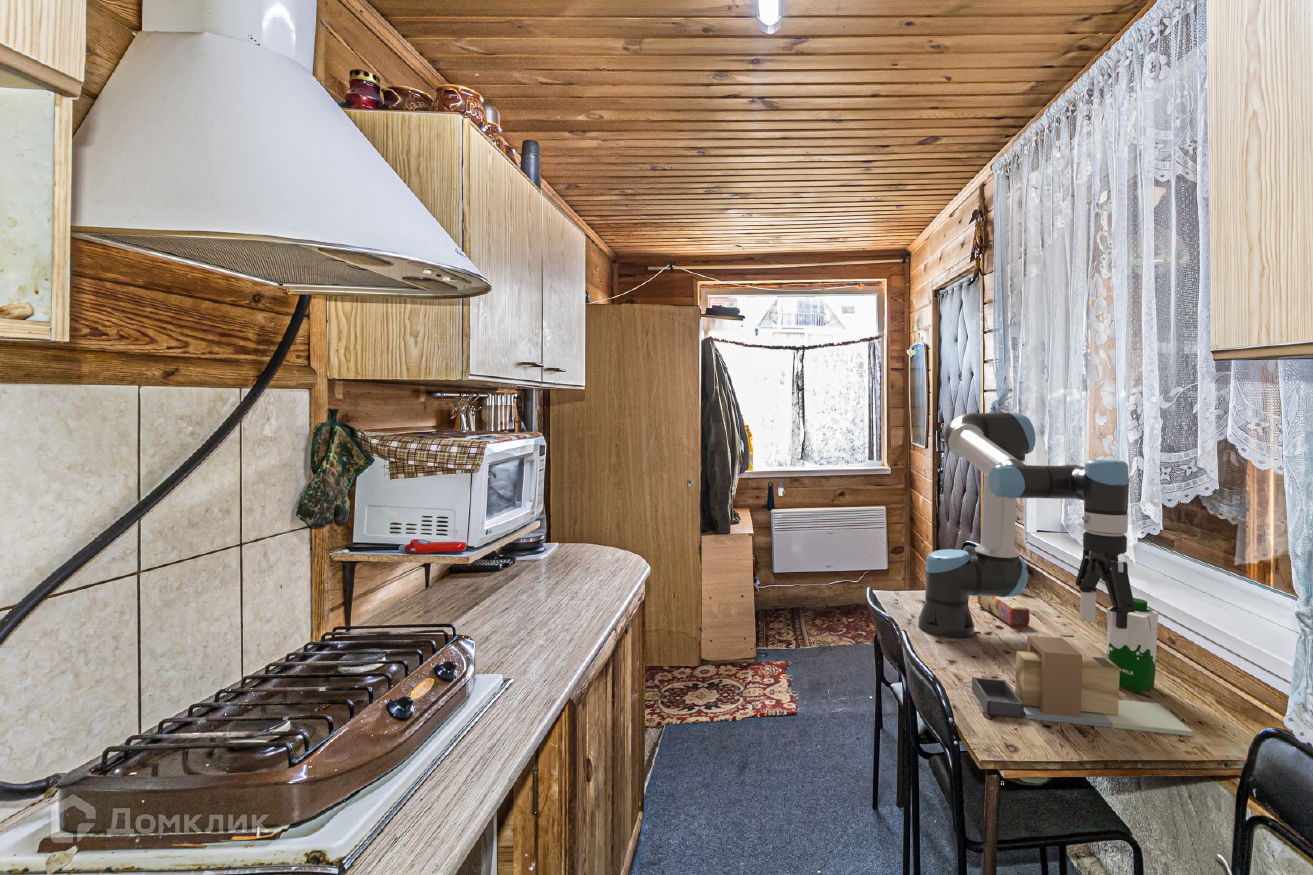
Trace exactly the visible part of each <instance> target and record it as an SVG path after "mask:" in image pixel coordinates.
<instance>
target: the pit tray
mask: <svg viewBox="0 0 1313 875" xmlns="http://www.w3.org/2000/svg"><path fill="white" fill-rule="evenodd" d="M971 678H972V679H971V691H972V692H973V695H974V696H975V697H976V699H977V700H978V702H979V704H980V706H982V708H983V710H984V711H985V713H986V715H989V716H998V717H1006V718H1007V717H1009V718H1016V719H1017V718H1018V719H1024V718H1025V716H1024V704H1023V702H1022V701H1021V700H1020V699H1019V697H1018V696H1017V695H1016V693H1015V692H1014V691H1013V690H1014V689H1013V688H1012V686H1010V684H1009V683H1008V682H1007V680H1005V679H995V678H988V677H987V678H984V677H974V676H973V677H971ZM1012 689H1013V690H1012Z"/></svg>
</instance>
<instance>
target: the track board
mask: <svg viewBox="0 0 1313 875" xmlns="http://www.w3.org/2000/svg"><path fill="white" fill-rule="evenodd" d="M1026 640H1027V643H1026V644H1027V645H1026V647H1027V648H1026V652H1035V653H1040V654H1041V655H1042V670H1041V703H1040V707H1037V706H1027V705H1024V718H1025V719H1028V720H1034V721H1036V720H1038V721H1046V722H1056V723H1065V724H1073V725H1074V724H1075V725H1081V726H1082V725H1083V726H1094V727H1102V728H1112V729H1122V730H1123V729H1124V730H1131V731H1138V732H1139V731H1141V732H1148V733H1158V734H1161V733H1162V734H1170V735H1178V736H1179V735H1180V736H1188V737H1193V732H1194V730H1192V729H1191V728H1189V727H1188V726H1187V725H1186V724H1185V723H1183V722H1182V721H1181V720H1179V718H1177V717H1175V716H1174V714H1173V713H1171V712H1170V711H1169V710H1167V709H1166V708H1164V707H1163V706H1162V705H1161V704H1159V703H1158V702H1145V701H1137V700H1125V699H1119V705H1118V715H1116V714H1106V713H1096V712H1086V711H1081V684H1082V656H1083V654H1082V653H1080V652H1079V651H1078V650H1077V649H1076V648H1075V647H1073V646H1072V645H1071V644H1070V643H1068V642H1067V641H1066V640H1065V639H1064V638H1063V637H1053V636H1040V635H1039V636H1038V635H1028V634H1027V639H1026ZM1012 690H1013V691H1014V692H1015V689H1013V688H1012Z"/></svg>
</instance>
